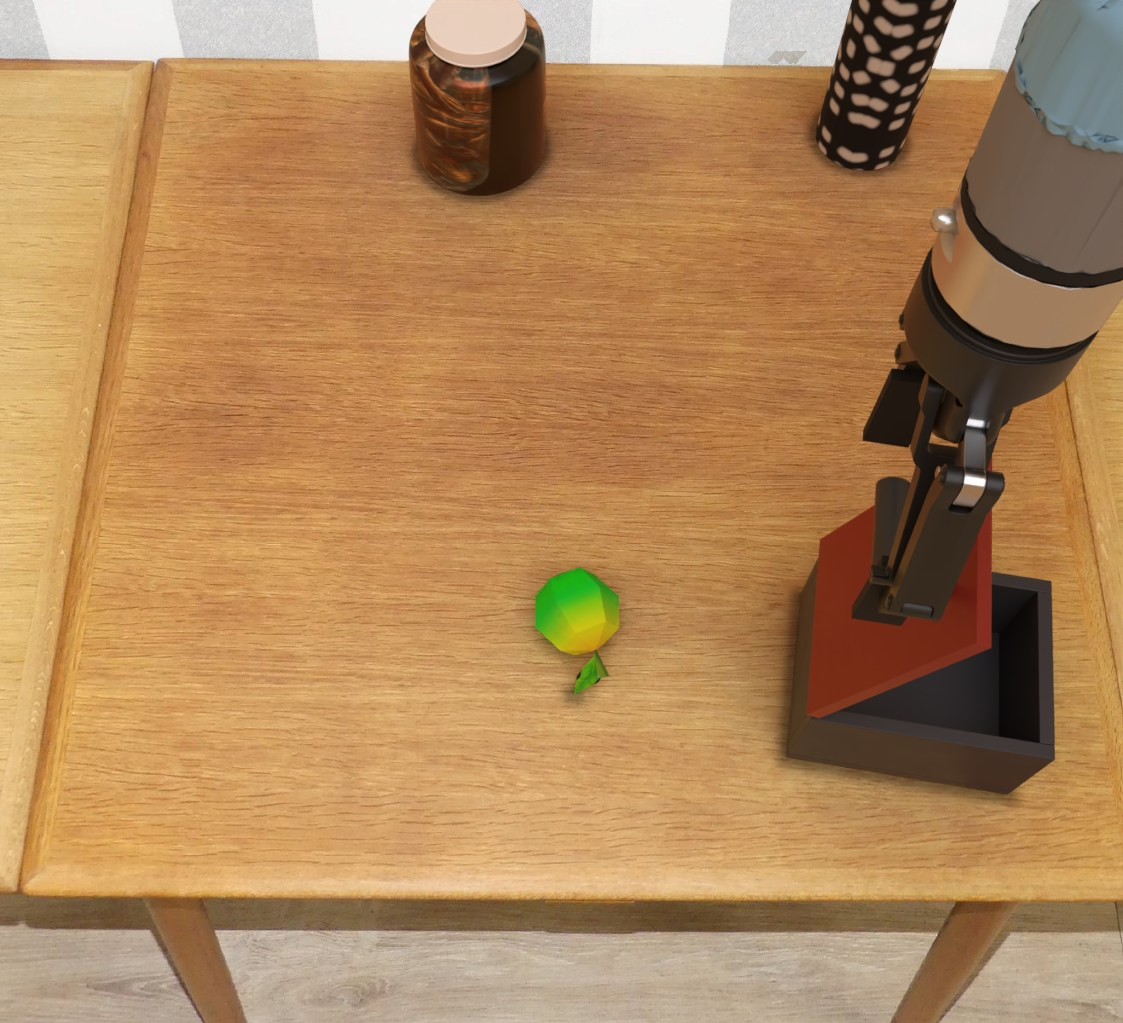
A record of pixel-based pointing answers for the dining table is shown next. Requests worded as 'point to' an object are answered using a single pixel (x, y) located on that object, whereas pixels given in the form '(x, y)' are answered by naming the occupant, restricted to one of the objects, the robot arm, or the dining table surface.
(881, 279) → the dining table surface
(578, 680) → the apple
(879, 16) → the spotted tube
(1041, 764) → the dark storage box
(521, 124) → the jar
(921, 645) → the lid
